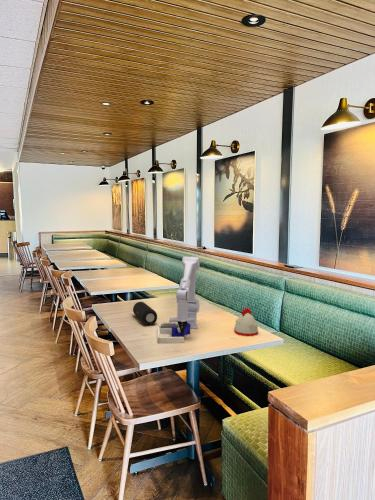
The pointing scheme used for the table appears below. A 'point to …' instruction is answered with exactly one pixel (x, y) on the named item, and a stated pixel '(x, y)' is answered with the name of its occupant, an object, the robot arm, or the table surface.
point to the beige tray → (168, 339)
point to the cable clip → (178, 334)
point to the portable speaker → (145, 313)
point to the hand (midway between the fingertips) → (182, 334)
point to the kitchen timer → (246, 324)
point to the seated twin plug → (169, 325)
